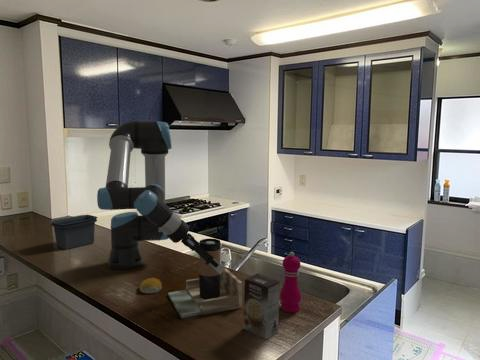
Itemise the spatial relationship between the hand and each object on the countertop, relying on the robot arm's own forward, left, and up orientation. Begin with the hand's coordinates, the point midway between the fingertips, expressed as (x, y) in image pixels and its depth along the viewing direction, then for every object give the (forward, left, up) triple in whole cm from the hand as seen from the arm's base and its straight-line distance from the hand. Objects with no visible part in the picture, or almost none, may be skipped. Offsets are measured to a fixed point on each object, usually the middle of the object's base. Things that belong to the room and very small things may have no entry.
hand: (215, 264), depth 132 cm
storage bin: (-91, -46, -13) cm, 103 cm away
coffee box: (+26, +5, -13) cm, 29 cm away
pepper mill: (+17, +21, -13) cm, 30 cm away
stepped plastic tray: (0, -5, -13) cm, 13 cm away
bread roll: (-17, -20, -13) cm, 29 cm away
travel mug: (0, -2, -11) cm, 12 cm away
